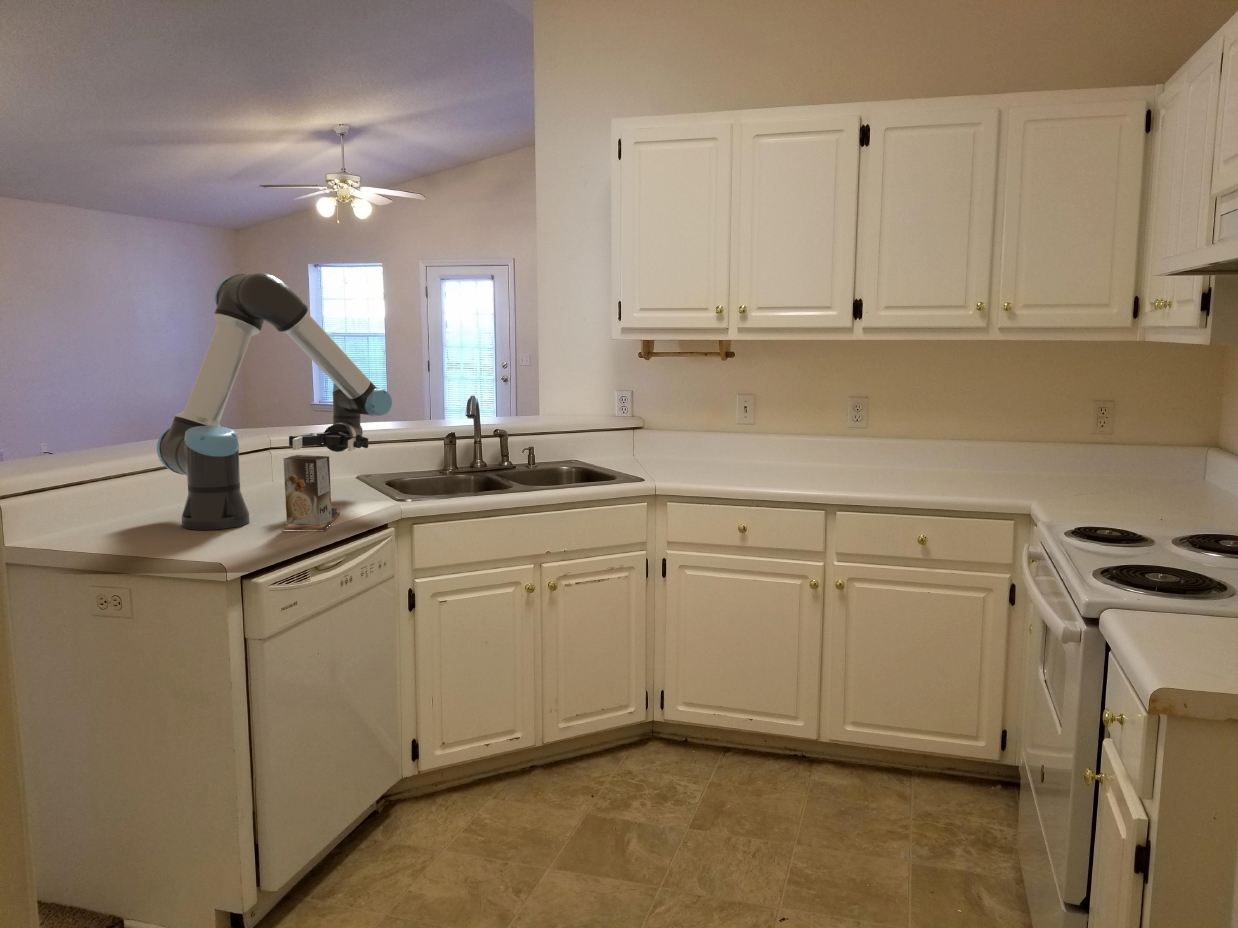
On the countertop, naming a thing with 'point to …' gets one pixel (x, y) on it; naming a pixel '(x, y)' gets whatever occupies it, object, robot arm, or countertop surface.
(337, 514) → the stamp station
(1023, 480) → the countertop surface
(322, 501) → the grey cardboard box
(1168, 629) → the countertop surface
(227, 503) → the robot arm
